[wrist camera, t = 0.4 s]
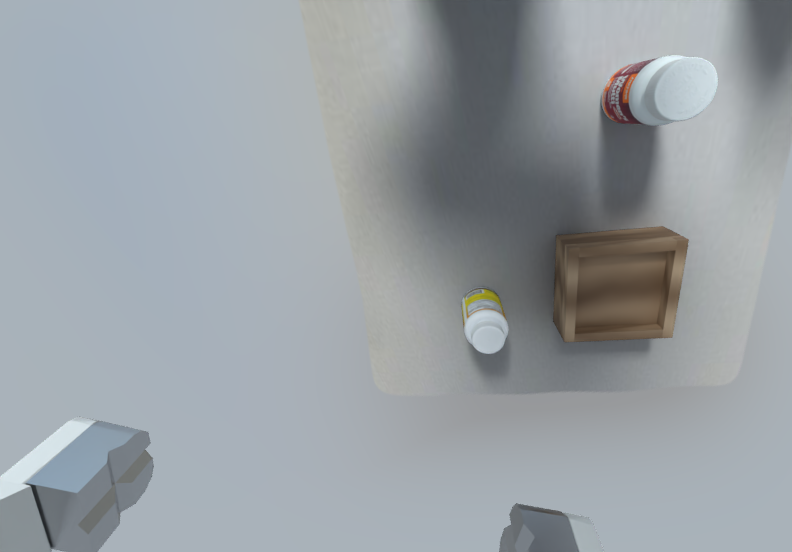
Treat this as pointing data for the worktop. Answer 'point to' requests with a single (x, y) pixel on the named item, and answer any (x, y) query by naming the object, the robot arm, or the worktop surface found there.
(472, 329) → the supplement bottle
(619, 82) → the pill bottle
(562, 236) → the brown wooden box
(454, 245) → the worktop surface
